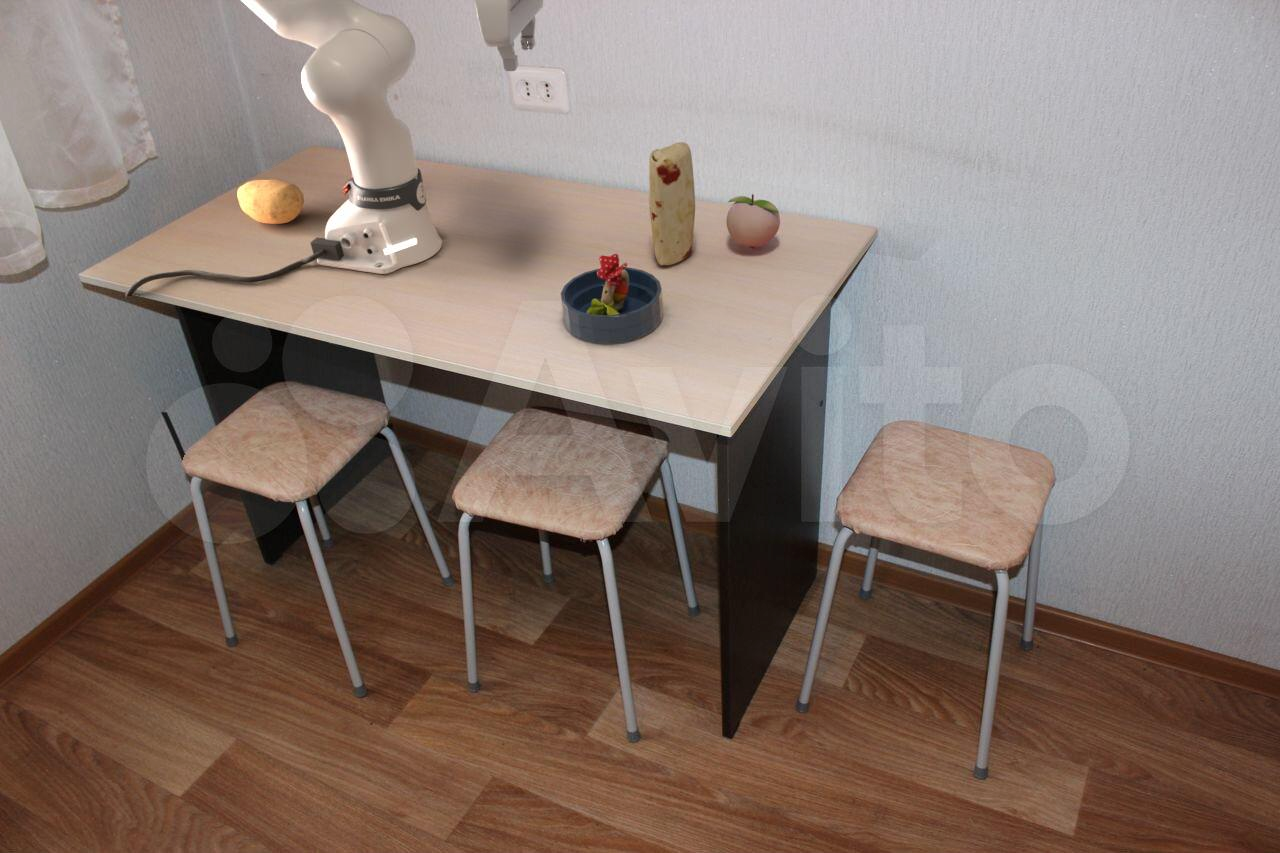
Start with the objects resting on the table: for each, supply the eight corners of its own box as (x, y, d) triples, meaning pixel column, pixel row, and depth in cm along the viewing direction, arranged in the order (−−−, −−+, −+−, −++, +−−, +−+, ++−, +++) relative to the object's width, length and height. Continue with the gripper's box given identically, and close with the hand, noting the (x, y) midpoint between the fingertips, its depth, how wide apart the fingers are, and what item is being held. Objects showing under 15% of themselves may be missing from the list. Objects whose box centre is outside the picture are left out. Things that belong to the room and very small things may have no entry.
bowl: (553, 342, 160) (550, 315, 157) (577, 292, 172) (574, 265, 169) (653, 347, 157) (651, 319, 154) (670, 295, 169) (668, 268, 166)
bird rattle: (601, 317, 169) (579, 324, 160) (606, 248, 166) (584, 252, 157) (637, 323, 167) (616, 330, 158) (643, 253, 164) (622, 257, 155)
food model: (676, 274, 175) (670, 161, 163) (643, 265, 178) (635, 154, 166) (705, 249, 181) (702, 139, 169) (673, 242, 184) (668, 132, 172)
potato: (265, 206, 208) (254, 168, 204) (321, 215, 203) (310, 176, 198) (231, 227, 201) (218, 188, 197) (288, 237, 196) (276, 197, 191)
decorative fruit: (719, 256, 179) (718, 203, 173) (733, 235, 185) (732, 182, 179) (772, 263, 176) (773, 208, 170) (784, 241, 182) (785, 187, 176)
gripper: (505, -59, 153) (518, 37, 161) (462, -22, 137) (479, 82, 146) (546, -61, 152) (557, 36, 160) (508, -24, 136) (523, 82, 144)
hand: (520, 58), depth 153 cm, fingers open, 8 cm apart
